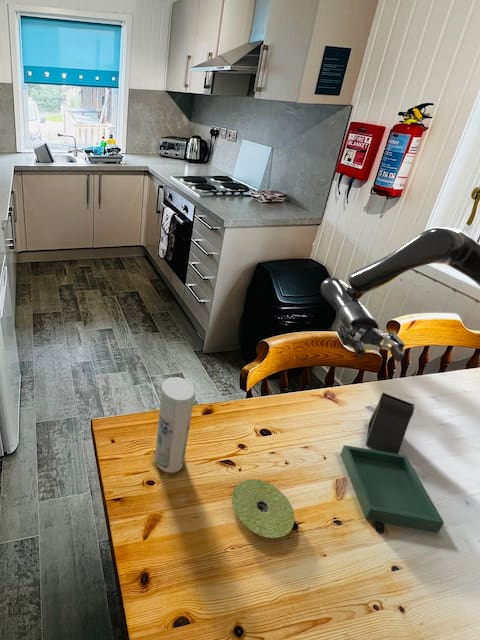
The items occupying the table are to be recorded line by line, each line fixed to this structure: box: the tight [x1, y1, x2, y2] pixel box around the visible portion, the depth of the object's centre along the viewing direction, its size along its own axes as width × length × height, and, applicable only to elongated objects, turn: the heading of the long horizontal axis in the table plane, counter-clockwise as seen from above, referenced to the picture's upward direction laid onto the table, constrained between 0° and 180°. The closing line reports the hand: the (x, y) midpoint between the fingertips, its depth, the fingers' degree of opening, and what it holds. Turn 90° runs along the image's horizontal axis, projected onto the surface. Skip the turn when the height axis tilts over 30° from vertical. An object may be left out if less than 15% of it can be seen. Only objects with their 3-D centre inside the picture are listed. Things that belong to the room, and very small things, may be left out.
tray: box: [340, 444, 445, 534], centre depth 80 cm, size 13×15×3 cm
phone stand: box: [365, 392, 415, 454], centre depth 90 cm, size 9×6×12 cm, turn 145°
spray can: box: [154, 376, 196, 474], centre depth 81 cm, size 6×6×20 cm
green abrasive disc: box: [231, 478, 295, 539], centre depth 75 cm, size 11×11×2 cm
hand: (381, 356), depth 97 cm, fingers open, 8 cm apart
